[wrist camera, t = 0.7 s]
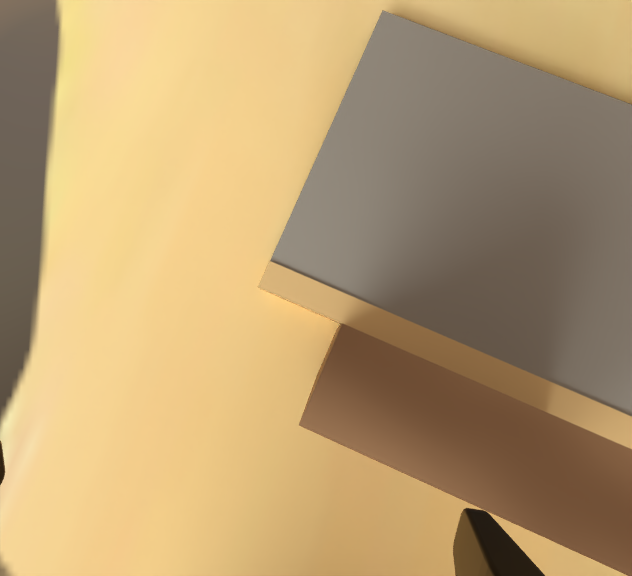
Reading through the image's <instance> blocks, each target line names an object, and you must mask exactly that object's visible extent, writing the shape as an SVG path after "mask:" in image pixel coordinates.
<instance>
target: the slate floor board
mask: <svg viewBox="0 0 632 576" xmlns="http://www.w3.org/2000/svg"><path fill="white" fill-rule="evenodd" d="M258 287H259V288H260V289H262V290H264V291H267V292H269V293H271V294H274V295H276V296H278V297H280V298H283V299H285V300H287V301H290V302H292V303H294V304H296V305H299V306H301V307H303V308H306V309H308V310H310V311H313V312H315V313H317V314H319V315H322V316H324V317H326V318H329V319H331V320H333V321H336V322H338V323H340V324H345V325H347V326H350V327H352V328H354V329H357V330H359V331H361V332H363V333H366V334H368V335H370V336H373V337H375V338H377V339H380V340H382V341H384V342H386V343H389V344H391V345H393V346H396V347H398V348H400V349H403V350H405V351H407V352H409V353H412V354H414V355H416V356H419V357H421V358H423V359H426V360H428V361H430V362H432V363H435V364H437V365H439V366H442V367H444V368H446V369H448V370H451V371H453V372H455V373H458V374H460V375H462V376H465V377H467V378H469V379H471V380H474V381H476V382H478V383H481V384H483V385H485V386H488V387H490V388H492V389H494V390H497V391H499V392H501V393H504V394H506V395H508V396H510V397H513V398H515V399H517V400H520V401H522V402H524V403H527V404H529V405H531V406H533V407H536V408H538V409H540V410H543V411H545V412H547V413H550V414H552V415H554V416H556V417H559V418H561V419H563V420H566V421H568V422H570V423H573V424H575V425H577V426H579V427H582V428H584V429H586V430H589V431H591V432H593V433H595V434H598V435H600V436H602V437H605V438H607V439H609V440H612V441H614V442H616V443H618V444H621V445H623V446H625V447H628V448H630V449H632V105H631V104H629V103H626V102H624V101H621V100H618V99H616V98H613V97H610V96H608V95H605V94H602V93H600V92H597V91H594V90H592V89H589V88H587V87H584V86H581V85H579V84H576V83H573V82H571V81H568V80H565V79H563V78H560V77H557V76H555V75H552V74H550V73H547V72H544V71H542V70H539V69H536V68H534V67H531V66H528V65H526V64H523V63H521V62H518V61H515V60H513V59H510V58H507V57H505V56H502V55H499V54H497V53H494V52H491V51H489V50H486V49H484V48H481V47H478V46H476V45H473V44H470V43H468V42H465V41H462V40H460V39H457V38H454V37H452V36H449V35H447V34H444V33H441V32H439V31H436V30H433V29H431V28H428V27H425V26H423V25H420V24H417V23H415V22H412V21H410V20H407V19H404V18H402V17H399V16H396V15H394V14H391V13H388V12H386V11H382V13H381V15H380V18H379V20H378V22H377V24H376V26H375V29H374V31H373V33H372V35H371V38H370V40H369V42H368V44H367V47H366V49H365V51H364V53H363V55H362V58H361V60H360V62H359V64H358V67H357V69H356V71H355V73H354V75H353V78H352V80H351V82H350V84H349V87H348V89H347V91H346V93H345V96H344V98H343V100H342V102H341V104H340V107H339V109H338V111H337V113H336V116H335V118H334V120H333V122H332V124H331V127H330V129H329V131H328V133H327V136H326V138H325V140H324V142H323V145H322V147H321V149H320V151H319V153H318V156H317V158H316V160H315V162H314V165H313V167H312V169H311V171H310V173H309V176H308V178H307V180H306V182H305V185H304V187H303V189H302V191H301V194H300V196H299V198H298V200H297V202H296V205H295V207H294V209H293V211H292V214H291V216H290V218H289V220H288V222H287V225H286V227H285V229H284V231H283V234H282V236H281V238H280V240H279V243H278V245H277V247H276V249H275V251H274V254H273V256H272V258H271V260H270V261H269V263H268V265H267V268H266V270H265V272H264V274H263V276H262V279H261V281H260V283H259V285H258Z"/></svg>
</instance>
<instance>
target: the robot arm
mask: <svg viewBox="0 0 632 576" xmlns="http://www.w3.org/2000/svg"><path fill="white" fill-rule="evenodd" d="M4 475H5V465H4V458H3V450H2V443H1V441H0V485H1V483H2V481H3V479H4ZM453 556H454V565H455V574H456V576H545V575H544V574H543V573H542V572H541V570H540V569H539V568H538V567H537V566H536V565H535V564H534V563H533V562H532V561H531V559H530V558H529V557H528V556H527V555H526V554H525V553H524V552H523V551H522V550H521V548H520V547H519V546H518V545H517V544H516V543H515V542H514V541H513V540H512V539H511V537H510V536H509V535H508V534H507V533H506V532H505V531H504V530H503V529H502V527H501V526H500V525H499V524H498V523H497V522H496V521H495V520H494V519H493V518H492V516H491V515H490V514H489V513H487V512H486V511H483V510H476V509H470V508H466V509H464V510H463V511H462V513H461V517H460V520H459V524H458V528H457V532H456V536H455V539H454V545H453Z"/></svg>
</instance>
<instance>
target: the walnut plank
mask: <svg viewBox="0 0 632 576" xmlns="http://www.w3.org/2000/svg"><path fill="white" fill-rule="evenodd" d="M299 426H302V427H304V428H306V429H308V430H310V431H313V432H315V433H317V434H319V435H321V436H324V437H326V438H328V439H330V440H332V441H335V442H337V443H339V444H341V445H343V446H345V447H348V448H350V449H352V450H354V451H356V452H359V453H361V454H363V455H365V456H367V457H370V458H372V459H374V460H376V461H378V462H381V463H383V464H385V465H387V466H389V467H391V468H394V469H396V470H398V471H400V472H402V473H405V474H407V475H409V476H411V477H413V478H416V479H418V480H420V481H422V482H424V483H427V484H429V485H431V486H433V487H435V488H438V489H440V490H442V491H444V492H446V493H448V494H451V495H453V496H455V497H457V498H459V499H462V500H464V501H466V502H468V503H470V504H473V505H475V506H477V507H479V508H481V509H484V510H486V511H488V512H490V513H492V514H494V515H497V516H499V517H501V518H503V519H505V520H508V521H510V522H512V523H514V524H516V525H519V526H521V527H523V528H525V529H527V530H530V531H532V532H534V533H536V534H538V535H541V536H543V537H545V538H547V539H549V540H551V541H554V542H556V543H558V544H560V545H562V546H565V547H567V548H569V549H571V550H573V551H576V552H578V553H580V554H582V555H584V556H587V557H589V558H591V559H593V560H595V561H597V562H600V563H602V564H604V565H606V566H608V567H611V568H613V569H615V570H617V571H619V572H622V573H624V574H626V575H628V576H632V449H630V448H628V447H625V446H623V445H621V444H618V443H616V442H614V441H612V440H609V439H607V438H605V437H602V436H600V435H598V434H595V433H593V432H591V431H589V430H586V429H584V428H582V427H579V426H577V425H575V424H573V423H570V422H568V421H566V420H563V419H561V418H559V417H556V416H554V415H552V414H550V413H547V412H545V411H543V410H540V409H538V408H536V407H533V406H531V405H529V404H527V403H524V402H522V401H520V400H517V399H515V398H513V397H510V396H508V395H506V394H504V393H501V392H499V391H497V390H494V389H492V388H490V387H488V386H485V385H483V384H481V383H478V382H476V381H474V380H471V379H469V378H467V377H465V376H462V375H460V374H458V373H455V372H453V371H451V370H448V369H446V368H444V367H442V366H439V365H437V364H435V363H432V362H430V361H428V360H426V359H423V358H421V357H419V356H416V355H414V354H412V353H409V352H407V351H405V350H403V349H400V348H398V347H396V346H393V345H391V344H389V343H386V342H384V341H382V340H380V339H377V338H375V337H373V336H370V335H368V334H366V333H363V332H361V331H359V330H357V329H354V328H352V327H350V326H347V325H345V324H342V325H341V326H340V327H339V328H338V329H337V330H336V333H335V335H334V337H333V340H332V342H331V344H330V347H329V349H328V351H327V354H326V356H325V358H324V361H323V363H322V365H321V368H320V370H319V372H318V375H317V377H316V380H315V382H314V385H313V388H312V391H311V393H310V396H309V399H308V402H307V404H306V407H305V410H304V412H303V415H302V418H301V421H300V423H299Z"/></svg>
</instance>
